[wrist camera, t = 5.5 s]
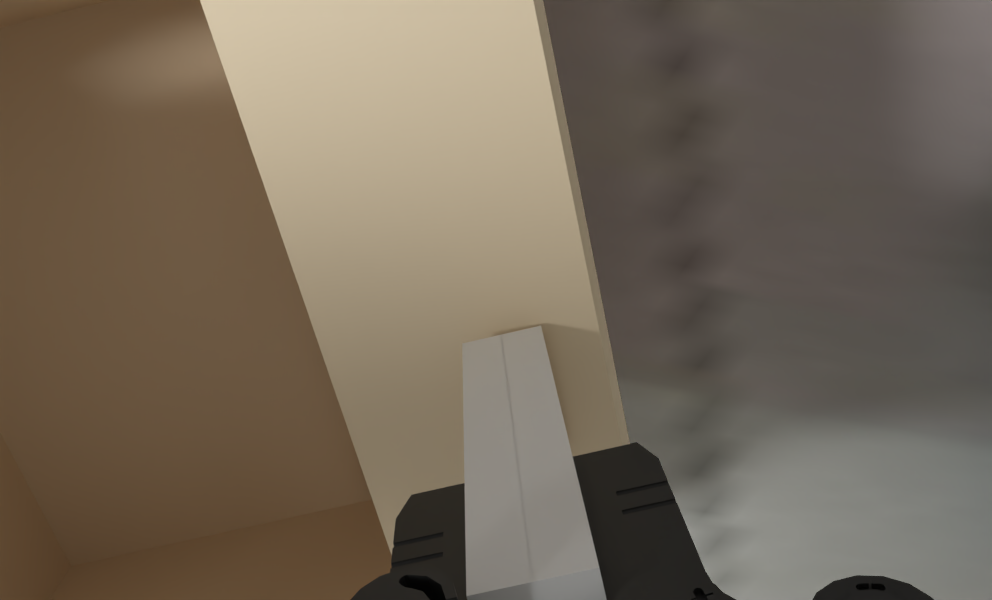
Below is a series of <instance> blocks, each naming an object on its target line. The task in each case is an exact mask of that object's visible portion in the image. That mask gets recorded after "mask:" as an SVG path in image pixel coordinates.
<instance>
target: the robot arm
mask: <svg viewBox="0 0 992 600" xmlns="http://www.w3.org/2000/svg"><path fill="white" fill-rule="evenodd" d="M462 361H463V422H464V482H465V483H462V484H457V485H453V486H448V487H444V488H439V489H435V490H430V491H426V492H421V493H417V494H412V495H411V496H410V498H409V499H408V501H407V502H406V504H405V505H404V507H403V508H402V510H401V511H400V513H399V515H398V516H397V518H396V522H395V531H394V540H393V544H394V548H393V549H392V558H391V565H392V568H390V573H387V574H384V575H382V576H379V577H378V578H376V579H375V580H373V581H371V582H370V583H368V584H367V585H365V586H364V587H362V588H361V589H360V590H359V591H358V592H357V593H356V594H355V595H354V596H353V597H352V598H351V600H736V599H734V598H732V597H730V596H728V595H727V594H725V593H723V592H722V591H721V590H720V589H719V588H718V587H717V586H716V585H715V584H713V583H712V581H711V580H710V578H709V576H708V575H707V573H706V572H705V569H704V567H703V565H702V562H701V560H700V557H699V555H698V553H697V550H696V548H695V545H694V543H693V541H692V538H691V536H690V533H689V531H688V529H687V526H686V524H685V521H684V519H683V517H682V514H681V512H680V509H679V507H678V505H677V503H676V501H675V497H674V495H673V493H672V490H671V488H670V485H668V481H667V478H666V476H665V473H664V471H663V469H662V466H661V464H660V461H659V459H658V458H657V457H656V456H654V455H653V454H652V453H650V452H649V451H648V450H646V449H645V448H644V447H642V446H641V445H640V444H638V443H637V442H636V443H632V444H627V445H623V446H618V447H614V448H609V449H605V450H600V451H596V452H591V453H587V454H582V455H578V456H572V452H571V448H570V444H569V440H568V436H567V431H566V427H565V423H564V419H563V415H562V411H561V407H560V402H559V398H558V394H557V390H556V386H555V382H554V378H553V373H552V369H551V365H550V361H549V357H548V353H547V349H546V344H545V340H544V336H543V332H542V328H541V326H537V327H532V328H528V329H524V330H519V331H515V332H510V333H506V334H502V335H497V336H493V337H488V338H484V339H480V340H475V341H471V342H467V343H462ZM813 600H934V599H933V598H931V597H930V596H928V595H927V594H925V593H923V592H922V591H920V590H918V589H917V588H915V587H913V586H912V585H910V584H908V583H904V582H901V581H897V580H894V579H891V578H887V577H884V576H853V577H849V578H845V579H841V580H837V581H833V582H832V583H830V584H829V585H827V586H826V587H824V588H823V589H821V590H820V591H818V592H817V593H816V595H815V596H814V598H813Z"/></svg>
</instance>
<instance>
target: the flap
mask: <svg viewBox="0 0 992 600" xmlns="http://www.w3.org/2000/svg"><path fill="white" fill-rule="evenodd" d="M200 2H201V5H202V8H203V11H204V14H205V16H206V19H207V22H208V25H209V28H210V31H211V34H212V37H213V40H214V43H215V45H216V48H217V51H218V54H219V57H220V60H221V63H222V66H223V69H224V71H225V74H226V77H227V80H228V83H229V86H230V89H231V92H232V95H233V98H234V100H235V103H236V106H237V109H238V112H239V115H240V118H241V121H242V124H243V127H244V129H245V132H246V135H247V138H248V141H249V144H250V147H251V150H252V153H253V155H254V158H255V161H256V164H257V167H258V170H259V173H260V176H261V179H262V182H263V184H264V187H265V190H266V193H267V196H268V199H269V202H270V205H271V208H272V211H273V213H274V216H275V219H276V222H277V225H278V228H279V231H280V234H281V237H282V240H283V242H284V245H285V248H286V251H287V254H288V257H289V260H290V263H291V266H292V268H293V271H294V274H295V277H296V280H297V283H298V286H299V289H300V292H301V295H302V297H303V300H304V303H305V306H306V309H307V312H308V315H309V318H310V321H311V324H312V326H313V329H314V332H315V335H316V338H317V341H318V344H319V347H320V350H321V353H322V355H323V358H324V361H325V364H326V367H327V370H328V373H329V376H330V379H331V381H332V384H333V387H334V390H335V393H336V396H337V399H338V402H339V405H340V408H341V410H342V413H343V416H344V419H345V422H346V425H347V428H348V431H349V434H350V437H351V439H352V442H353V445H354V448H355V451H356V454H357V457H358V460H359V463H360V465H361V468H362V471H363V474H364V477H365V480H366V483H367V486H368V489H369V492H370V494H371V497H372V500H373V503H374V506H375V509H376V512H377V515H378V518H379V521H380V523H381V526H382V529H383V532H384V535H385V538H386V541H387V544H388V547H389V550H390V552H391V555H392V549H393V548H394V544H393V540H394V531H395V522H396V518H397V516H398V515H399V513H400V511H401V510H402V508H403V507H404V505H405V504H406V502H407V501H408V499H409V498H410V496H411V495H412V494H417V493H421V492H426V491H430V490H435V489H439V488H444V487H448V486H453V485H457V484H462V483H465V482H464V422H463V361H462V343H467V342H471V341H475V340H480V339H484V338H488V337H493V336H497V335H502V334H506V333H510V332H515V331H519V330H524V329H528V328H532V327H537V326H541V328H542V332H543V336H544V340H545V344H546V349H547V353H548V357H549V361H550V365H551V369H552V373H553V378H554V382H555V386H556V390H557V394H558V398H559V402H560V407H561V411H562V415H563V419H564V423H565V427H566V431H567V436H568V440H569V444H570V448H571V452H572V456H578V455H582V454H587V453H591V452H596V451H600V450H605V449H609V448H614V447H618V446H623V445H627V444H630V441H629V436H628V431H627V426H626V421H625V416H624V411H623V406H622V400H621V395H620V390H619V385H618V380H617V375H616V370H615V365H614V360H613V355H612V349H611V344H610V339H609V334H608V329H607V324H606V319H605V314H604V309H603V303H602V298H601V293H600V288H599V283H598V278H597V273H596V268H595V263H594V257H593V252H592V247H591V242H590V237H589V232H588V227H587V222H586V217H585V212H584V206H583V201H582V196H581V191H580V186H579V181H578V176H577V171H576V166H575V160H574V155H573V150H572V145H571V140H570V135H569V130H568V125H567V120H566V115H565V109H564V104H563V99H562V94H561V89H560V84H559V79H558V74H557V69H556V63H555V58H554V53H553V48H552V43H551V38H550V33H549V28H548V23H547V17H546V12H545V7H544V2H543V0H200Z"/></svg>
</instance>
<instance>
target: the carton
mask: <svg viewBox="0 0 992 600" xmlns="http://www.w3.org/2000/svg"><path fill="white" fill-rule="evenodd" d="M391 558H392V555H391V552H390V550H389V547H388V544H387V541H386V538H385V535H384V532H383V529H382V526H381V523H380V521H379V518H378V515H377V512H376V509H375V506H374V503H373V500H372V497H371V494H370V492H369V489H368V486H367V483H366V480H365V477H364V474H363V471H362V468H361V465H360V463H359V460H358V457H357V454H356V451H355V448H354V445H353V442H352V439H351V437H350V434H349V431H348V428H347V425H346V422H345V419H344V416H343V413H342V410H341V408H340V405H339V402H338V399H337V396H336V393H335V390H334V387H333V384H332V381H331V379H330V376H329V373H328V370H327V367H326V364H325V361H324V358H323V355H322V353H321V350H320V347H319V344H318V341H317V338H316V335H315V332H314V329H313V326H312V324H311V321H310V318H309V315H308V312H307V309H306V306H305V303H304V300H303V297H302V295H301V292H300V289H299V286H298V283H297V280H296V277H295V274H294V271H293V268H292V266H291V263H290V260H289V257H288V254H287V251H286V248H285V245H284V242H283V240H282V237H281V234H280V231H279V228H278V225H277V222H276V219H275V216H274V213H273V211H272V208H271V205H270V202H269V199H268V196H267V193H266V190H265V187H264V184H263V182H262V179H261V176H260V173H259V170H258V167H257V164H256V161H255V158H254V155H253V153H252V150H251V147H250V144H249V141H248V138H247V135H246V132H245V129H244V127H243V124H242V121H241V118H240V115H239V112H238V109H237V106H236V103H235V100H234V98H233V95H232V92H231V89H230V86H229V83H228V80H227V77H226V74H225V71H224V69H223V66H222V63H221V60H220V57H219V54H218V51H217V48H216V45H215V43H214V40H213V37H212V34H211V31H210V28H209V25H208V22H207V19H206V16H205V14H204V11H203V8H202V5H201V2H200V0H0V600H351V598H352V597H353V596H354V595H355V594H356V593H357V592H358V591H359V590H360V589H361V588H362V587H364V586H365V585H367V584H368V583H370V582H371V581H373V580H375V579H376V578H378V577H379V576H382V575H384V574H387V573H390V568H392V565H391Z"/></svg>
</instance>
